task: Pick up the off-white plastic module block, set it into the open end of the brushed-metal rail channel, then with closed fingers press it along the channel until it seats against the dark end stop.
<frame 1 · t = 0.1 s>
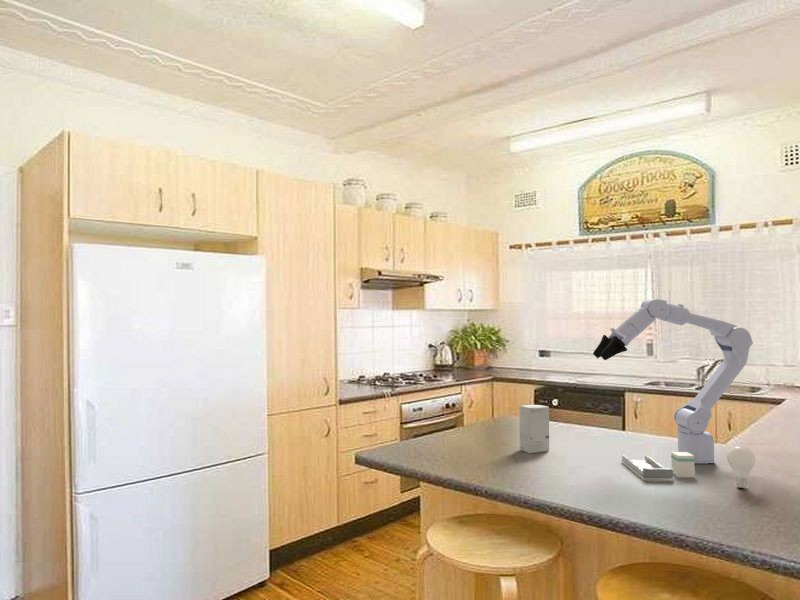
hand: (598, 356, 171), 32 cm above the countertop, tool tilted 50°, fingers open, 7 cm apart
rail plate: (646, 471, 158), on the countertop
module: (683, 475, 154), on the countertop
skincare box: (534, 451, 182), on the countertop
lightbulb: (741, 489, 143), on the countertop
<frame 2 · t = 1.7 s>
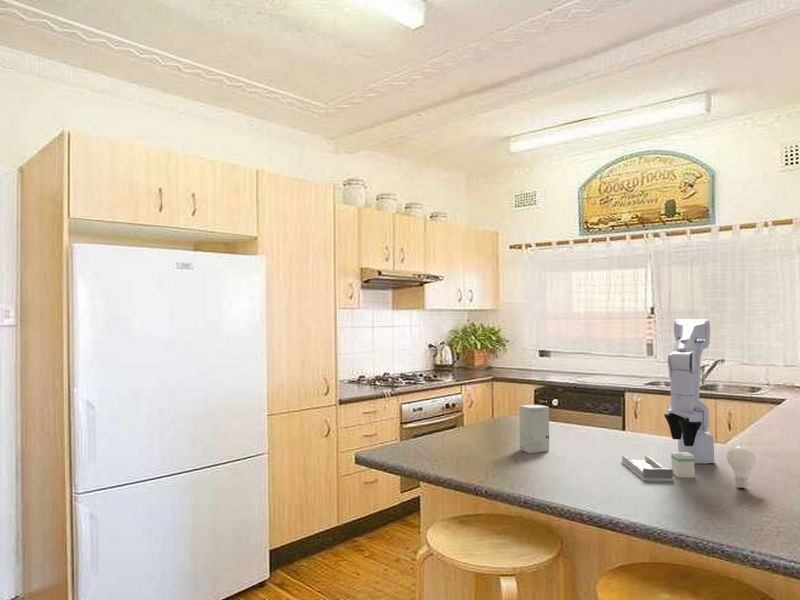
hand: (682, 442, 155), 9 cm above the countertop, tool pointing down, fingers open, 7 cm apart
nothing on the countertop moved.
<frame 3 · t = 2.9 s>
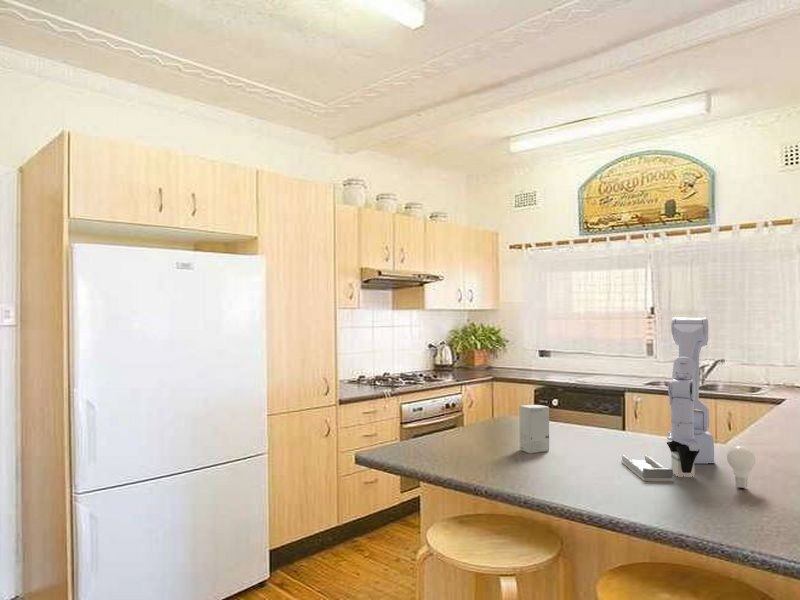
hand: (682, 469, 154), 1 cm above the countertop, tool pointing down, fingers closed on module, 4 cm apart
module: (683, 474, 154), on the countertop, touching gripper
everything else where it was.
when the fingers open (3 cm above the countertop, at t = 6.0 s): module stays where it is, resting on rail plate.
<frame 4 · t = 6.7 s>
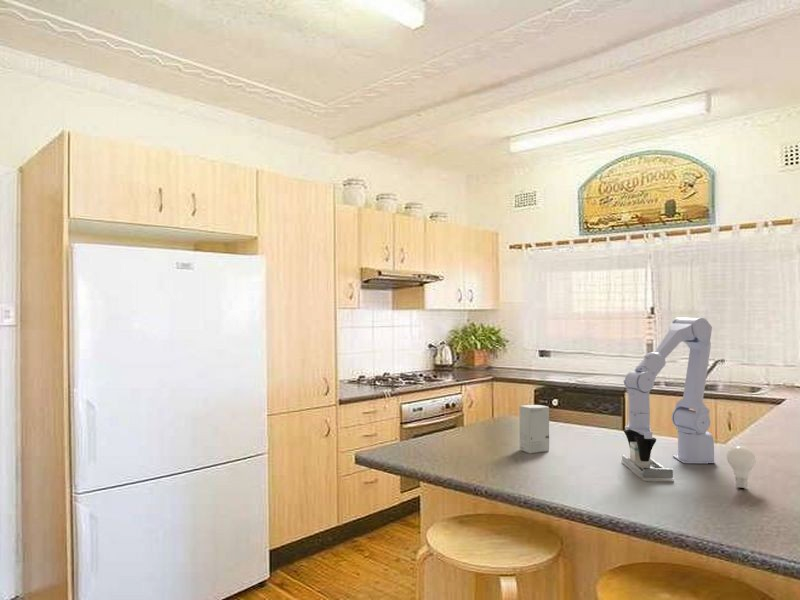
hand: (639, 457, 163), 3 cm above the countertop, tool pointing down, fingers open, 7 cm apart
module: (640, 463, 163), point 1 cm above the countertop, touching rail plate
everything else where it was.
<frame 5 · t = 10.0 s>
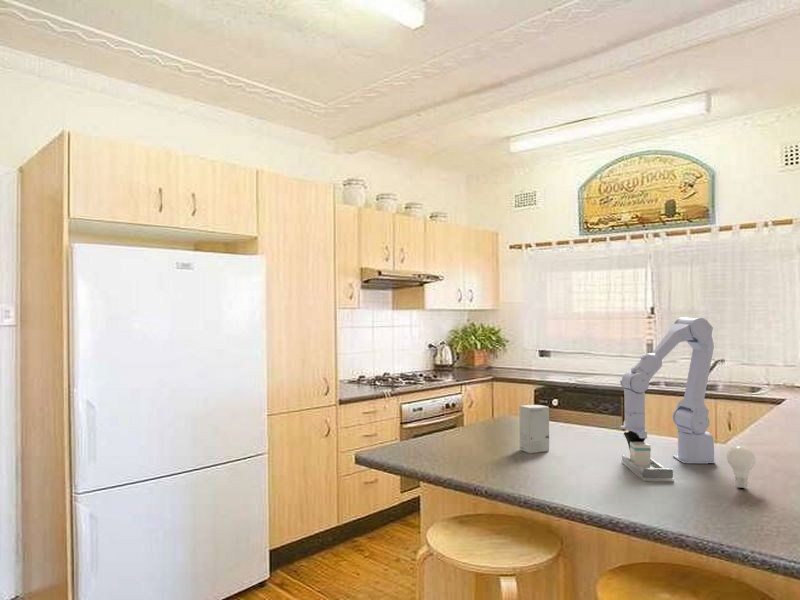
hand: (635, 456, 167), 2 cm above the countertop, tool pointing down, fingers closed
module: (640, 463, 163), point 1 cm above the countertop, touching gripper, rail plate
everything else where it was.
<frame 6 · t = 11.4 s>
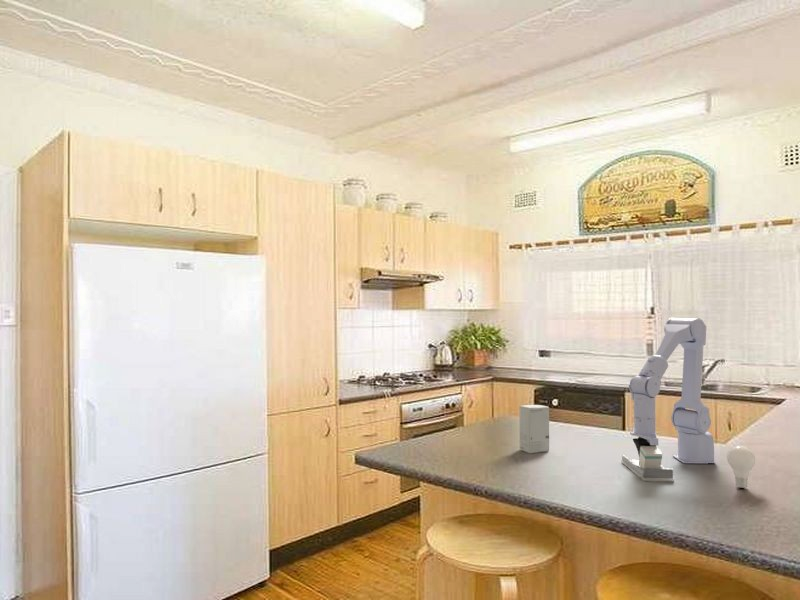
hand: (645, 464, 159), 2 cm above the countertop, tool pointing down, fingers closed
module: (649, 468, 156), point 1 cm above the countertop, tilted 17°, touching gripper
everything else where it was.
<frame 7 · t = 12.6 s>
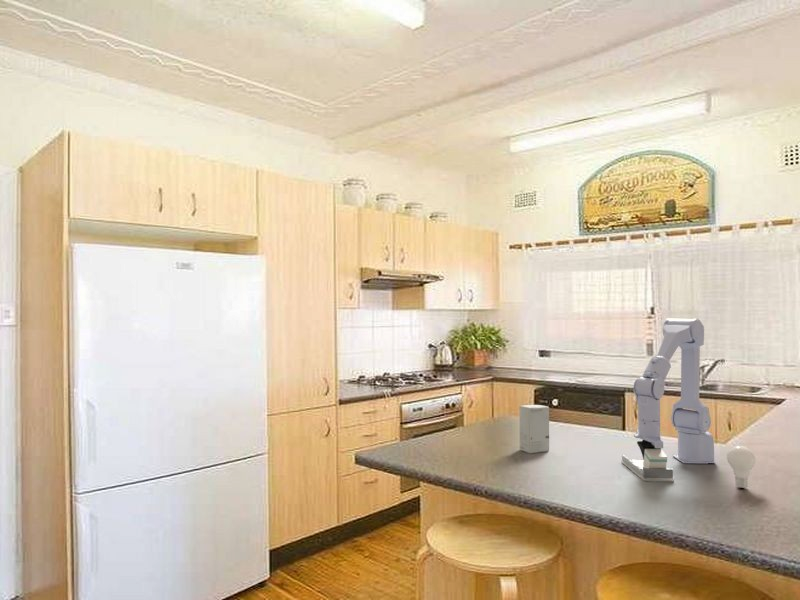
hand: (649, 467, 155), 2 cm above the countertop, tool pointing down, fingers closed
module: (653, 471, 153), point 1 cm above the countertop, tilted 17°, touching gripper, rail plate
everything else where it was.
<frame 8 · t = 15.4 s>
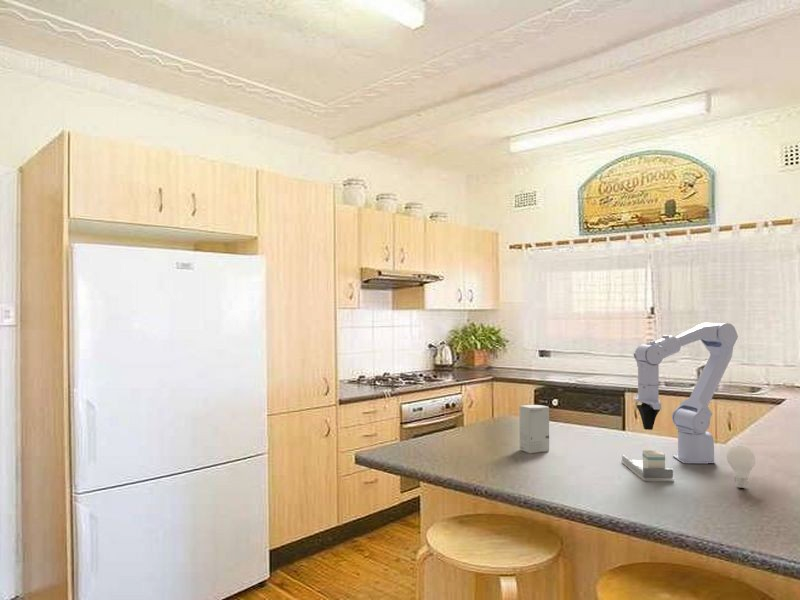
hand: (648, 429, 166), 10 cm above the countertop, tool pointing down, fingers closed
module: (653, 473, 153), point 1 cm above the countertop, touching rail plate
everything else where it was.
at the end: module 0.3 cm from the target spot on the rail plate, point 0.8 cm above the rail plate's base; module tilted 0°; the gripper is holding nothing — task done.
